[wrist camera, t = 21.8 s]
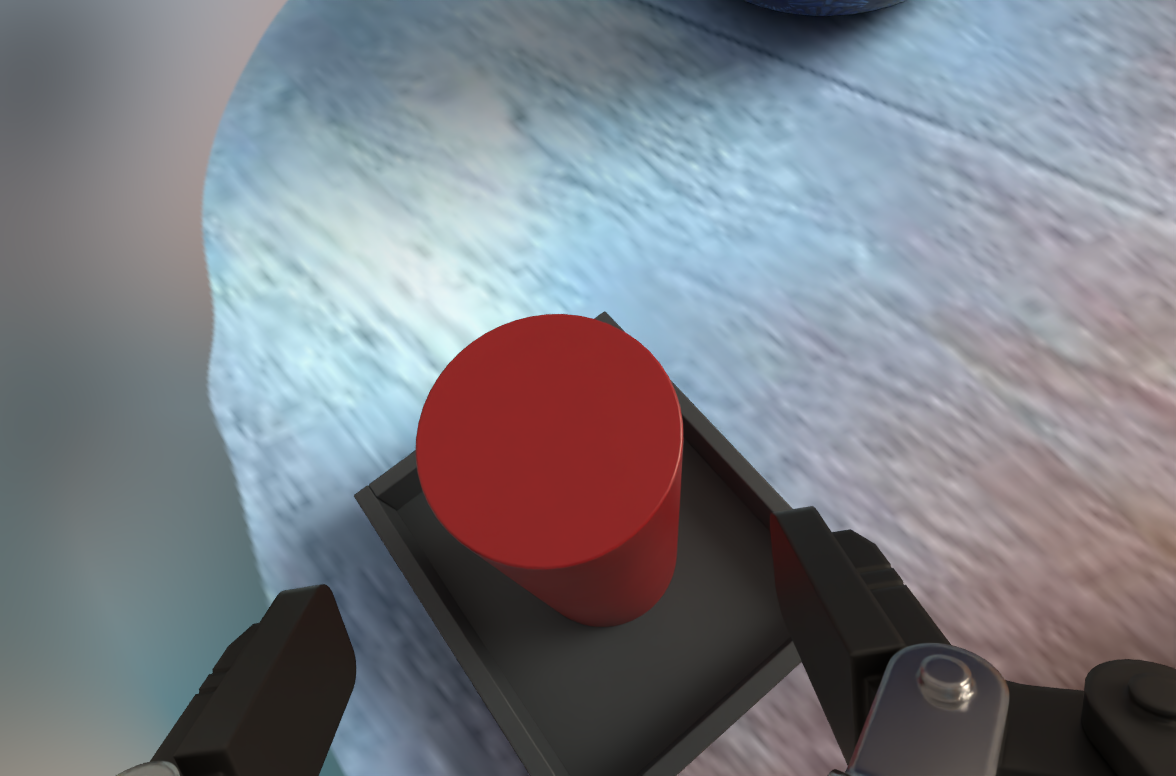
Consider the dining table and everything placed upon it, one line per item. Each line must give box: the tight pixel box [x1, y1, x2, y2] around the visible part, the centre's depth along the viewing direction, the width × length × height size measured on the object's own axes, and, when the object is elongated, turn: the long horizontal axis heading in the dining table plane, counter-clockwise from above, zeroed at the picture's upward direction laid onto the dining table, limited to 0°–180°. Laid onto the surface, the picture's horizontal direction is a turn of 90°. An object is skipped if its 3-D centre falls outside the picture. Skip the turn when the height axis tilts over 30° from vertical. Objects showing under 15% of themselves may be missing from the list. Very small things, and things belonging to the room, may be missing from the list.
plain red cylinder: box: [416, 314, 683, 627], centre depth 18 cm, size 5×5×12 cm
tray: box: [354, 312, 802, 776], centre depth 23 cm, size 11×13×3 cm
